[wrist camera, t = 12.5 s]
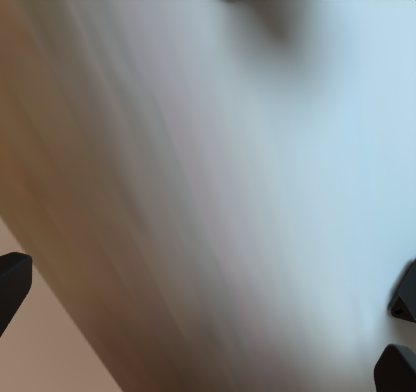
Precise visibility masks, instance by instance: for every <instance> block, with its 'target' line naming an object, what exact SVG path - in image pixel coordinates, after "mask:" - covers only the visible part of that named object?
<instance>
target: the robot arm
mask: <svg viewBox="0 0 416 392" xmlns="http://www.w3.org/2000/svg"><path fill="white" fill-rule="evenodd" d="M31 284H32V257H31V256H30V255H27V254H23V253H18V252H12V253H8V254H6V255H3V256H0V337H1V336H2V334H3V332H4V331H5V329H6V328H7V326H8V324H9V323H10V321H11V319H12V318H13V316H14V314H15V313H16V311H17V310H18V308H19V307H20V305H21V303H22V302H23V300H24V299H25V297H26V295H27V294H28V292H29V290H30V288H31ZM398 308H400V309H399V310H396V309H398ZM388 309H389V311H390V313H391V315H392V316H394V317H396V318H400V319H403V320H407V321H410V322H414V323H416V260H415V261H414V263H413V265H412V266H411V268H410V270H409V271H408V273H407V275H406V276H405V278H404V280H403V281H402V283H401V285H400V286H399V288H398V290H397V293H396V294H395V296H394V298H393V299H392V301H391V303H390V304H389V307H388ZM374 380H375V386H376V391H377V392H416V354H414V353H413V352H412V351H411V350H410V349H409V348H407V347H404V346H400V345H396V344H389V345H387V347H386V348H385V350H384V351H383V353H382V355H381V356H380V358H379V360H378V362H377V363H376V365H375V368H374Z"/></svg>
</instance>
